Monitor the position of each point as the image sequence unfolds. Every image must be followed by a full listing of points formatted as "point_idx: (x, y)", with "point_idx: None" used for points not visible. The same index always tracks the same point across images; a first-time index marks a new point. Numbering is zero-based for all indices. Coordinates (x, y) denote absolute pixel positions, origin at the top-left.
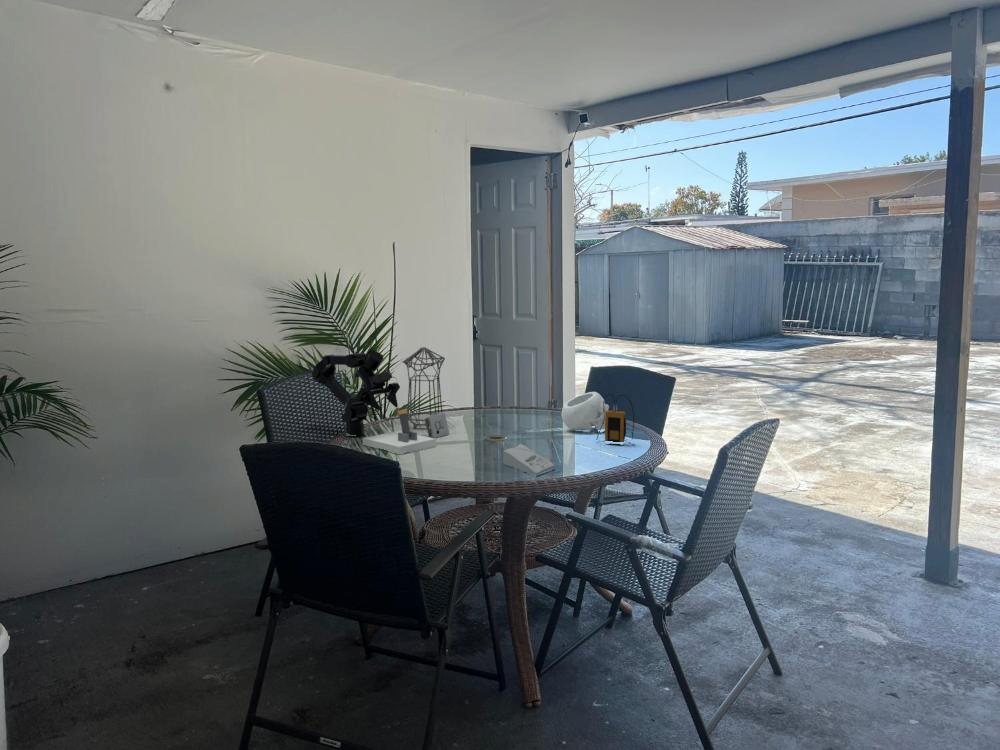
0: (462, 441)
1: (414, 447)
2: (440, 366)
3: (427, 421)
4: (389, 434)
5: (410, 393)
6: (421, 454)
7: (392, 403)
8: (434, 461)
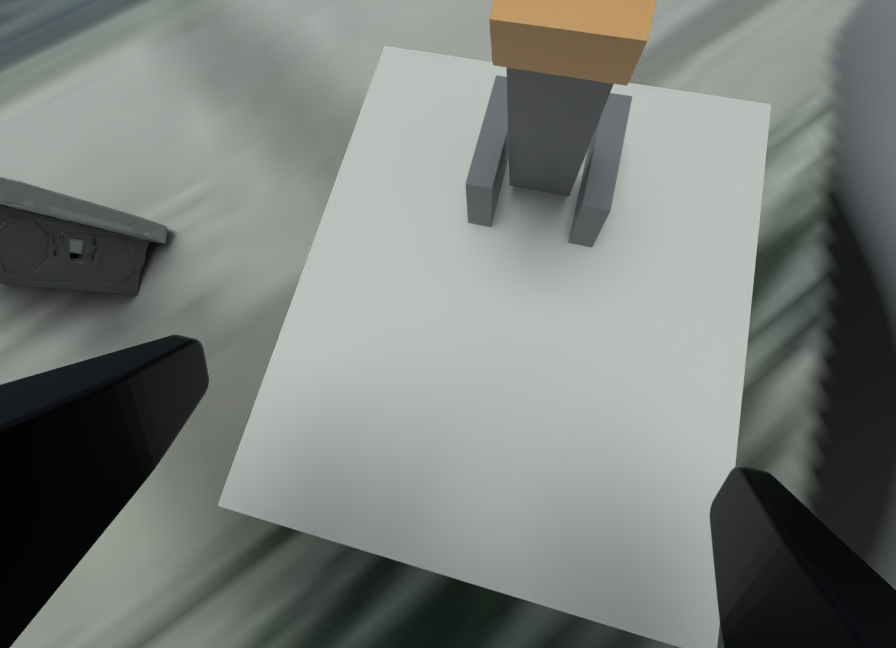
0: (197, 38)
1: None
2: None
3: (16, 250)
4: (413, 482)
5: None
6: None
7: (83, 534)
8: None
